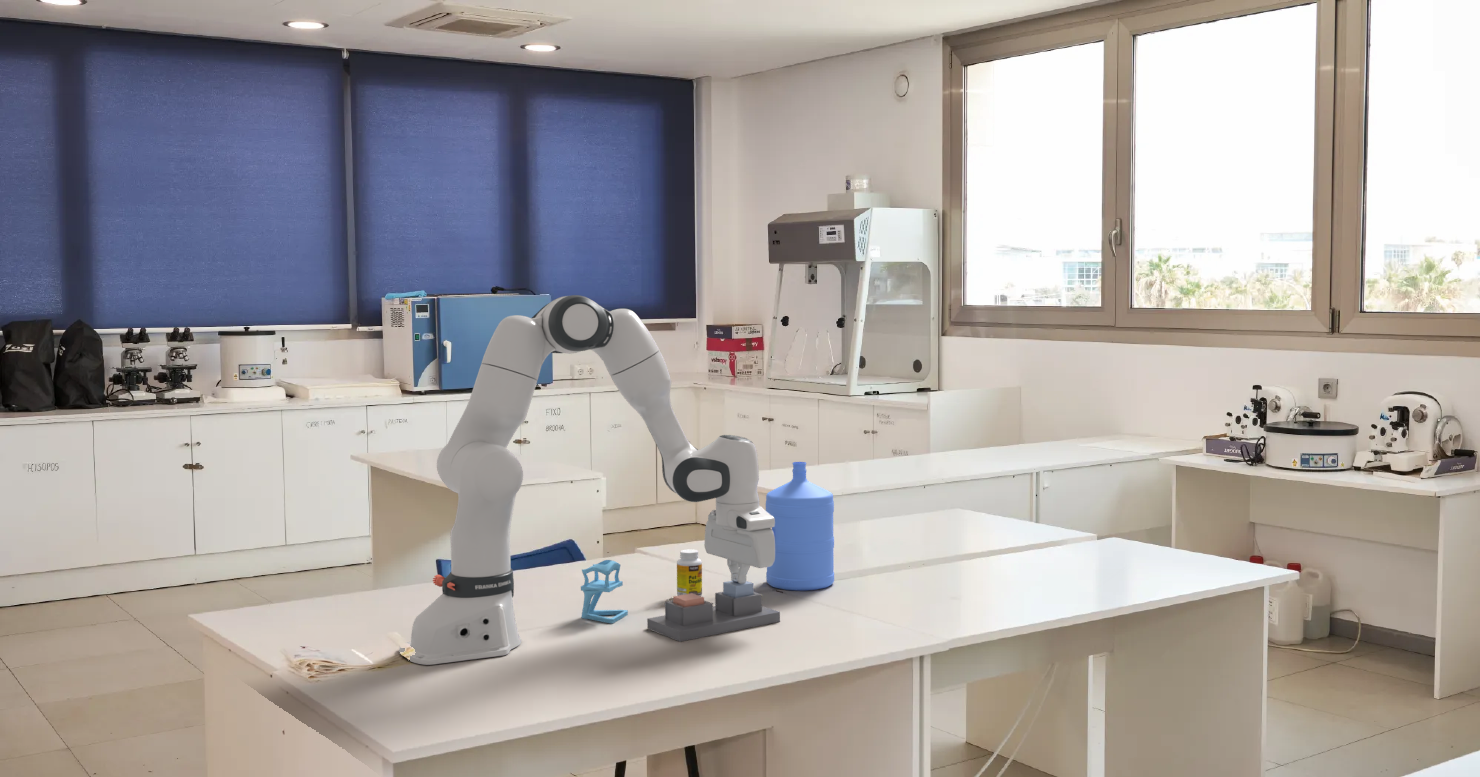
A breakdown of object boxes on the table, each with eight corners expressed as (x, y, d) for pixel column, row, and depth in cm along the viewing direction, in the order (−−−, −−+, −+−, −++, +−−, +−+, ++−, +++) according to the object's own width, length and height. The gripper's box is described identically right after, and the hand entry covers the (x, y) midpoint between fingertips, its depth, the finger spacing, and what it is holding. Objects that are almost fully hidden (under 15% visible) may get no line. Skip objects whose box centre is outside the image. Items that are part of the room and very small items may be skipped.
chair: (592, 612, 256) (591, 555, 255) (628, 614, 253) (627, 557, 252) (575, 621, 249) (574, 563, 248) (612, 623, 246) (611, 565, 245)
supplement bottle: (688, 601, 264) (687, 554, 263) (671, 596, 268) (671, 551, 267) (707, 596, 268) (707, 550, 267) (690, 592, 272) (690, 547, 271)
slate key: (735, 600, 244) (735, 586, 244) (723, 596, 248) (723, 582, 248) (753, 597, 247) (753, 583, 246) (741, 593, 250) (740, 579, 250)
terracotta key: (685, 615, 237) (685, 600, 237) (673, 611, 241) (673, 596, 241) (704, 612, 240) (704, 597, 240) (692, 607, 243) (691, 593, 243)
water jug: (846, 580, 282) (845, 460, 280) (813, 594, 269) (812, 468, 267) (787, 573, 290) (786, 456, 288) (753, 586, 277) (752, 464, 275)
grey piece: (679, 641, 232) (679, 613, 232) (647, 628, 242) (647, 601, 242) (780, 621, 246) (779, 594, 246) (745, 609, 256) (745, 584, 255)
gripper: (696, 509, 253) (697, 575, 254) (754, 523, 236) (755, 593, 237) (721, 506, 256) (722, 571, 257) (780, 519, 240) (781, 589, 241)
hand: (738, 582), depth 247 cm, fingers closed, pressing on slate key
